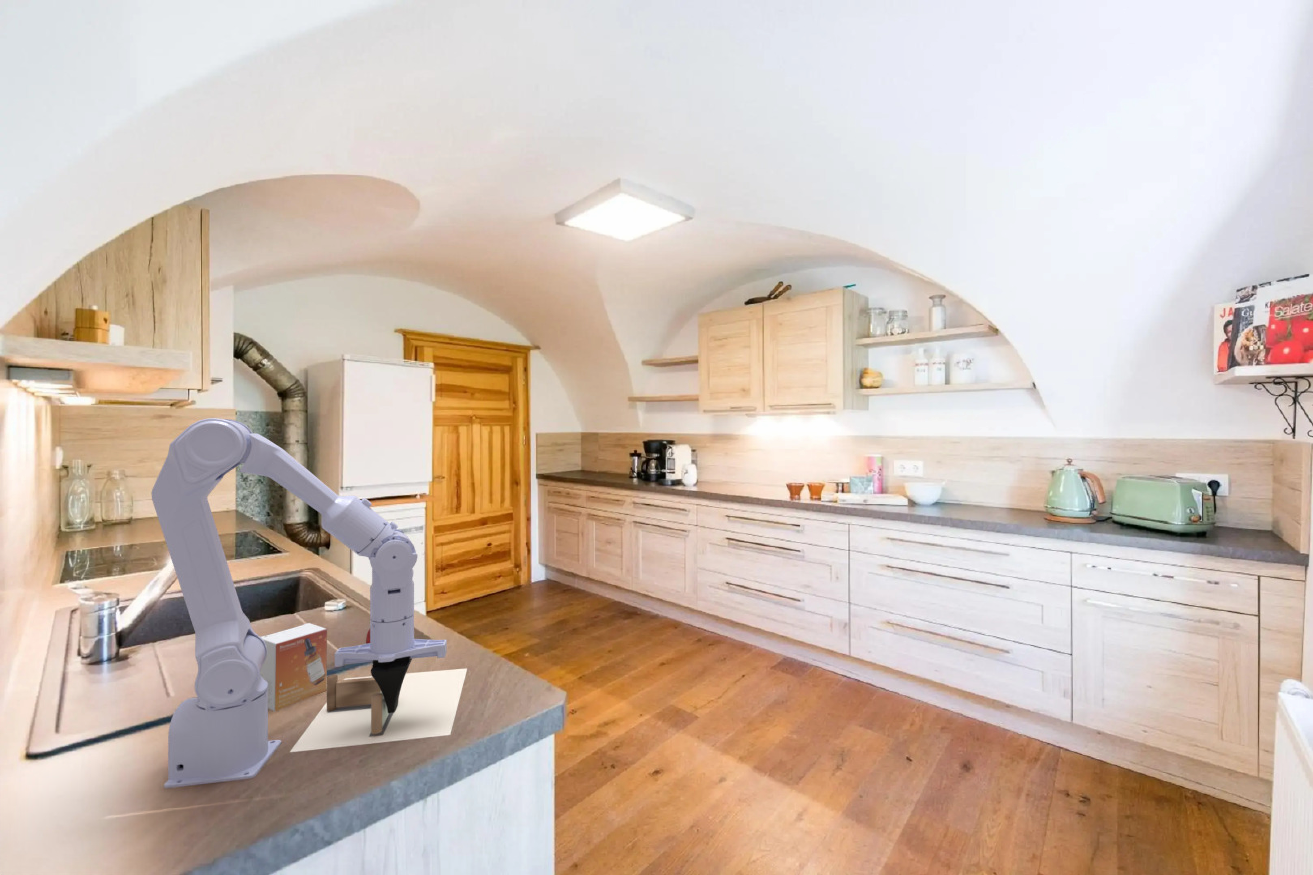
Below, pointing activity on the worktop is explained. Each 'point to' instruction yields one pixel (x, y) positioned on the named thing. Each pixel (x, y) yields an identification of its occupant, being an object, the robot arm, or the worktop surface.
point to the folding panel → (378, 712)
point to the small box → (295, 665)
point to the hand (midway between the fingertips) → (392, 709)
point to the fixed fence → (350, 692)
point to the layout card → (392, 714)
